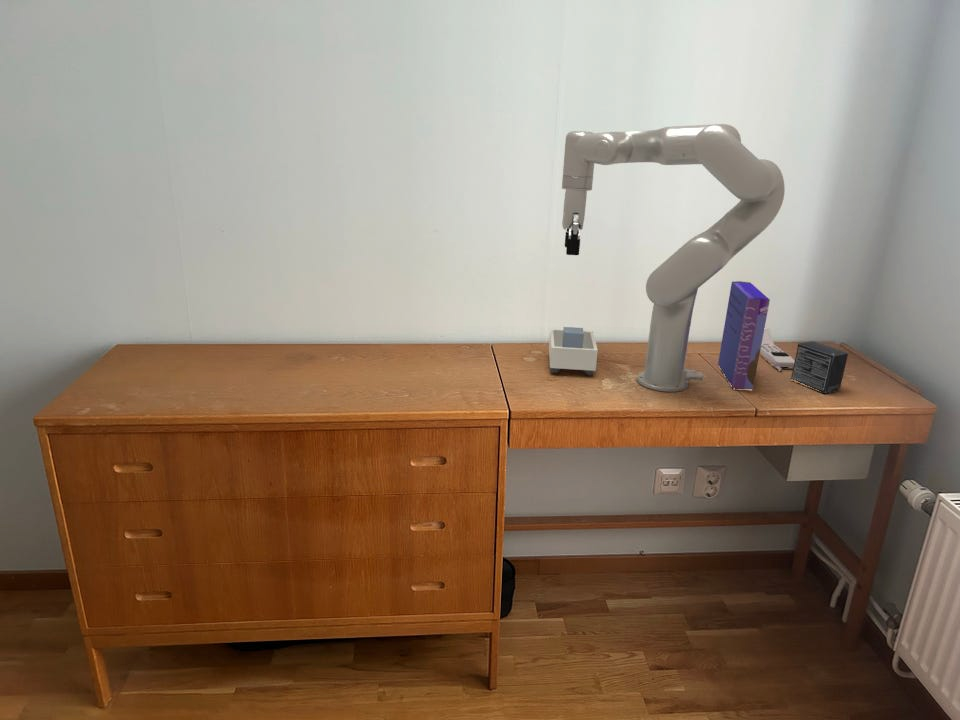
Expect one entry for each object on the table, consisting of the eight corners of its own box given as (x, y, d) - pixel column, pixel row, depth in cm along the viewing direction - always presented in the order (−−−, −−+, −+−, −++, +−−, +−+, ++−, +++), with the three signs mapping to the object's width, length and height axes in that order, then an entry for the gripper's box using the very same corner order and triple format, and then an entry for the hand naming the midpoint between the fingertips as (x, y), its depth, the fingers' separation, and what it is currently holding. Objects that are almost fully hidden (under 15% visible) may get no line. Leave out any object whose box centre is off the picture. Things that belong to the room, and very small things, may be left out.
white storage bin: (590, 357, 192) (592, 331, 190) (594, 377, 178) (597, 350, 175) (548, 354, 193) (550, 329, 190) (549, 374, 178) (551, 347, 176)
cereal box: (752, 391, 175) (770, 298, 166) (733, 390, 175) (749, 297, 167) (735, 367, 191) (750, 281, 183) (717, 365, 191) (731, 280, 183)
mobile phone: (767, 325, 210) (802, 353, 186) (764, 344, 212) (798, 373, 188) (747, 325, 210) (780, 352, 186) (744, 343, 212) (776, 373, 188)
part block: (580, 352, 186) (582, 327, 184) (581, 359, 182) (583, 333, 179) (561, 351, 187) (563, 326, 184) (562, 358, 182) (564, 332, 179)
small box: (841, 391, 177) (850, 352, 174) (825, 395, 174) (834, 355, 170) (805, 377, 186) (813, 339, 182) (789, 380, 183) (797, 343, 179)
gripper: (561, 179, 182) (556, 244, 188) (563, 186, 166) (558, 257, 172) (589, 180, 182) (583, 245, 188) (595, 187, 165) (588, 258, 171)
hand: (571, 251), depth 180 cm, fingers open, 9 cm apart
